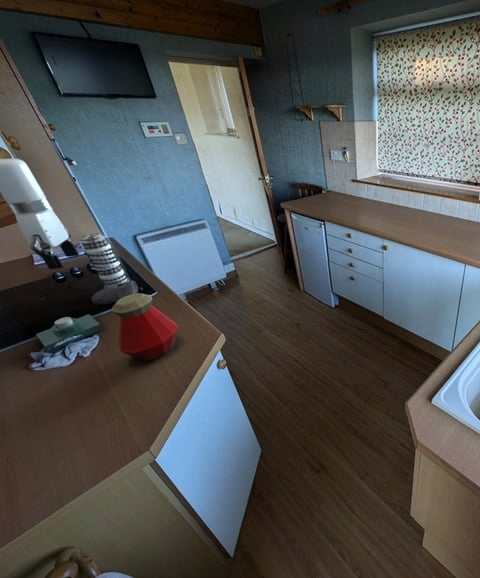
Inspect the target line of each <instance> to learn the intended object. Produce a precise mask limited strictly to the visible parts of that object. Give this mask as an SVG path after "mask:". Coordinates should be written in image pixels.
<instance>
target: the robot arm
mask: <svg viewBox="0 0 480 578" xmlns="http://www.w3.org/2000/svg"><path fill="white" fill-rule="evenodd" d="M0 194H1V196H2V197H3V199H4V201H5V202H6V203H7V205H8V206H9V208H10V209H11V211H12V212H13V214H14V215H15V219H16V222H17V224H18V226H19V228H20V230H21V232H22V234H23V235H24V237H25V239H26V241H27V242H28V244H29V249H31V250H32V251H33V253H35V255H37V256H38V257H39V258H41V259H42V261H44V263H45V265H46V266H47V268H48V269H49V270H57V269H63V268H64V267H65V265H64V264H63V262H62V260H61V259H60V258H59V256H58V255H57V254H55V248H56V247H58V246H59V248H60V249H61V250H62V252H63V254H64V255H65V257H66V258H70V257H78V256H79V255H80V253H79V251H78V249H77V247H76V246H75V244H74V241H73V239H72V238H71V237H72V236H71V234H70V232H69V228H68V227H66V226H64V224H63V223H62V221H61V220H60V219H59V217H58V216H57V214H56V213H55V212H54V208H53V206H52V205H51V204H50V202H49V200H48V198H47V196H46V195H45V193H44V191H43V189H42V188H41V186H40V184H39V182H38V181H37V179H36V178H35V176H34V175H33V173H32V171H31V169H30V168H29V166H28V164H27V163H26V162H25V161H24V160H23V159H20V158H0Z"/></svg>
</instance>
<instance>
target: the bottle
mask: <svg viewBox="0 0 480 578" xmlns="http://www.w3.org/2000/svg"><path fill="white" fill-rule="evenodd" d="M111 311H112V313H114V314H115V315H117V316H118V317H119V319H120V320H119V334H118V335H119V336H118V347H119V350H120V352H121V353H123V354H126V355H128V356H130V357H133V358H136V359H138V360H140V361H145V362H146V361H147V362H148V361H153V360H156V359H159V358H160V357H162V356H164V355H166V354H167V353H169V352H170V351H171V350H172V349H173V347H174V346H175V344H176V340H177V339H176V338H177V335H178V333H179V332H178V331H179V327H178V325H177V324H176V322H175V321H174V320H172V319H170V317H168V316H166V314H164V313H163V312H161V311H160V310H159V309H157V308H156V307H155V306H153V297H152V296H151V295H150V294H145V293H138V292H137V293H136V294H131V295H128V296H125V297H123V298H121V299H120V300H118V301H117V302H115V303H114V304H113V306H112V308H111Z"/></svg>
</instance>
